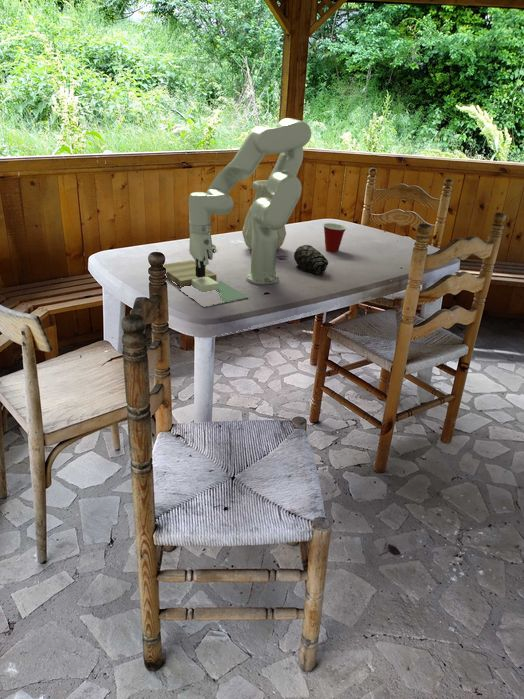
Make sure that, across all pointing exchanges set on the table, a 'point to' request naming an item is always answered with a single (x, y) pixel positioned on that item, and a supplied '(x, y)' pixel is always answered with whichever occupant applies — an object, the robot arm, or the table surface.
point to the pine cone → (310, 260)
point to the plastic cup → (333, 236)
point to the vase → (247, 229)
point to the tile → (205, 284)
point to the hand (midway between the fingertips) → (200, 276)
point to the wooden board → (185, 273)
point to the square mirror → (229, 293)
